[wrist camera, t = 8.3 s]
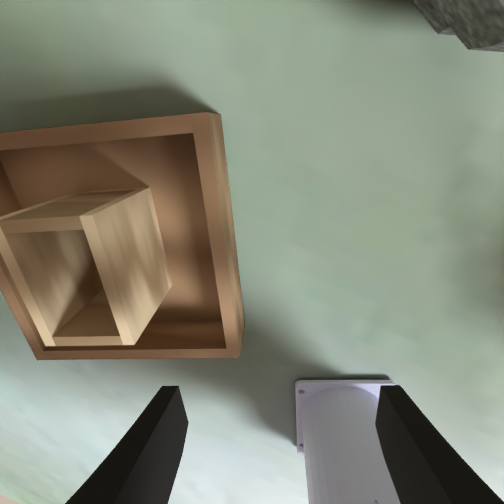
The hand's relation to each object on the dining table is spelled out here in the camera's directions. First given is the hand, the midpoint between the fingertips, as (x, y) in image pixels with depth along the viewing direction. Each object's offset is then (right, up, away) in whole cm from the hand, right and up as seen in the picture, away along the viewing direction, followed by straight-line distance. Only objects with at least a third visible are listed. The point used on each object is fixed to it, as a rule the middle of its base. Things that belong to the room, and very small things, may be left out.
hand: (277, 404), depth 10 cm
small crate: (-9, +6, +9) cm, 14 cm away
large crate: (-9, +6, +9) cm, 15 cm away
